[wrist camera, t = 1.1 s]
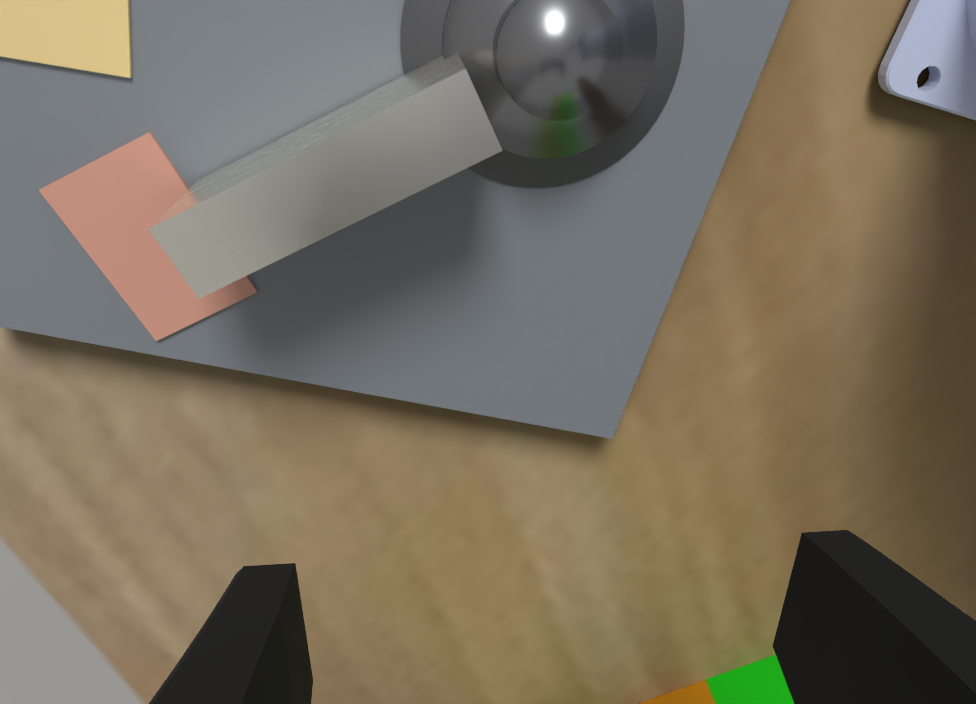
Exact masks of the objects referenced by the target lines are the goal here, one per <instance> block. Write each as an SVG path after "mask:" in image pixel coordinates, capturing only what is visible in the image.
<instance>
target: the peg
mask: <svg viewBox="0 0 976 704" xmlns="http://www.w3.org/2000/svg"><path fill="white" fill-rule="evenodd" d="M656 50H657V24H656V16H655V11H654V7H653V3H652V0H450V2H449V5H448V7H447V12H446V16H445V20H444V26H443V34H442V54H443V55H442V56H440V57H438V58H436V59H434V60H432V61H431V62H429V63H427V64H425V65H423V66H421V67H419V68H417V69H415V70H413V71H411V72H409V73H407V74H405V75H403V76H401V77H399V78H397V79H395V80H393V81H391V82H389V83H387V84H385V85H384V86H382V87H380V88H378V89H376V90H374V91H372V92H370V93H368V94H366V95H364V96H362V97H360V98H358V99H356V100H354V101H352V102H350V103H348V104H346V105H344V106H342V107H340V108H338V109H337V110H335V111H333V112H331V113H329V114H327V115H325V116H323V117H321V118H319V119H317V120H315V121H313V122H311V123H309V124H307V125H305V126H303V127H301V128H299V129H297V130H295V131H293V132H291V133H290V134H288V135H286V136H284V137H282V138H280V139H278V140H276V141H274V142H272V143H270V144H268V145H266V146H264V147H262V148H260V149H258V150H256V151H254V152H252V153H250V154H248V155H246V156H244V157H243V158H241V159H239V160H237V161H235V162H233V163H231V164H229V165H227V166H225V167H223V168H221V169H219V170H217V171H215V172H213V173H211V174H209V175H207V176H205V177H203V178H201V179H199V180H198V181H197V182H196V183H195V184H194V185H193V186H192V187H191V188H190V189H189V190H188V191H187V192H186V193H185V194H184V195H183V196H181V197H180V198H179V199H178V200H177V201H176V202H175V203H174V204H173V205H172V206H171V207H170V208H169V209H168V210H167V211H166V212H165V213H164V214H163V215H162V216H161V217H160V218H159V219H158V220H157V221H156V222H155V223H154V224H153V225H152V226H151V227H150V228H149V231H150V232H151V234H152V235H153V236H154V238H155V239H156V241H157V242H158V243H159V245H160V246H161V247H162V249H163V250H164V252H165V253H166V254H167V256H168V257H169V259H170V260H171V261H172V263H173V264H174V265H175V267H176V268H177V270H178V271H179V272H180V274H181V275H182V277H183V278H184V279H185V281H186V282H187V283H188V285H189V286H190V288H191V289H192V290H193V292H194V293H195V294H196V296H197V297H198V299H200V298H202V297H204V296H206V295H208V294H210V293H212V292H214V291H216V290H218V289H220V288H222V287H224V286H226V285H229V284H231V283H233V282H235V281H237V280H239V279H241V278H243V277H245V276H247V275H249V274H251V273H253V272H255V271H257V270H259V269H261V268H263V267H265V266H267V265H269V264H272V263H274V262H276V261H278V260H280V259H282V258H284V257H286V256H288V255H290V254H292V253H294V252H296V251H298V250H300V249H302V248H304V247H306V246H308V245H310V244H313V243H315V242H317V241H319V240H321V239H323V238H325V237H327V236H329V235H331V234H333V233H335V232H337V231H339V230H341V229H343V228H345V227H347V226H349V225H351V224H353V223H356V222H358V221H360V220H362V219H364V218H366V217H368V216H370V215H372V214H374V213H376V212H378V211H380V210H382V209H384V208H386V207H388V206H390V205H392V204H394V203H396V202H399V201H401V200H403V199H405V198H407V197H409V196H411V195H413V194H415V193H417V192H419V191H421V190H423V189H425V188H427V187H429V186H431V185H433V184H435V183H437V182H440V181H442V180H444V179H446V178H448V177H450V176H452V175H454V174H456V173H458V172H460V171H462V170H464V169H466V168H468V167H470V166H472V165H474V164H476V163H478V162H480V161H483V160H485V159H487V158H489V157H491V156H493V155H495V154H497V153H499V152H501V151H503V150H502V149H504V150H507V151H509V152H511V153H514V154H517V155H521V156H524V157H531V158H538V159H553V158H561V157H566V156H570V155H574V154H578V153H580V152H582V151H585V150H587V149H590V148H592V147H593V146H595V145H597V144H599V143H601V142H602V141H603V140H605V139H606V138H608V137H609V136H610V135H612V134H613V133H614V132H615V131H616V130H617V129H618V128H619V127H620V126H621V125H623V123H624V122H625V121H626V120H627V119H628V118H629V116H630V115H631V114H632V113H633V111H634V110H635V108H636V107H637V105H638V104H639V102H640V100H641V98H642V96H643V94H644V92H645V90H646V88H647V86H648V83H649V80H650V78H651V75H652V71H653V67H654V63H655V58H656Z"/></svg>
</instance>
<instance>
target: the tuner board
mask: <svg viewBox="0 0 976 704" xmlns="http://www.w3.org/2000/svg"><path fill="white" fill-rule="evenodd" d="M790 1H791V0H652V3H653V7H654V11H655V16H656V24H657V50H656V58H655V63H654V67H653V71H652V75H651V78H650V80H649V83H648V86H647V88H646V90H645V92H644V94H643V96H642V98H641V100H640V102H639V104H638V105H637V107H636V108H635V110H634V111H633V113H632V114H631V115H630V116H629V118H628V119H627V120H626V121H625V122H624V123H623V125H621V126H620V127H619V128H618V129H617V130H616V131H615V132H614V133H613V134H612V135H610V136H609V137H608V138H606V139H605V140H603V141H602V142H601V143H599V144H597V145H595V146H593V147H592V148H590V149H587V150H585V151H582V152H580V153H578V154H574V155H570V156H566V157H561V158H553V159H538V158H531V157H524V156H521V155H517V154H514V153H511V152H509V151H507V150H504V149H502V150H503V151H501V152H499V153H497V154H495V155H493V156H491V157H489V158H487V159H485V160H483V161H480V162H478V163H476V164H474V165H472V166H470V167H468V168H466V169H464V170H462V171H460V172H458V173H456V174H454V175H452V176H450V177H448V178H446V179H444V180H442V181H440V182H437V183H435V184H433V185H431V186H429V187H427V188H425V189H423V190H421V191H419V192H417V193H415V194H413V195H411V196H409V197H407V198H405V199H403V200H401V201H399V202H396V203H394V204H392V205H390V206H388V207H386V208H384V209H382V210H380V211H378V212H376V213H374V214H372V215H370V216H368V217H366V218H364V219H362V220H360V221H358V222H356V223H353V224H351V225H349V226H347V227H345V228H343V229H341V230H339V231H337V232H335V233H333V234H331V235H329V236H327V237H325V238H323V239H321V240H319V241H317V242H315V243H313V244H310V245H308V246H306V247H304V248H302V249H300V250H298V251H296V252H294V253H292V254H290V255H288V256H286V257H284V258H282V259H280V260H278V261H276V262H274V263H272V264H269V265H267V266H265V267H263V268H261V269H259V270H257V271H255V272H253V273H251V274H249V275H247V276H245V277H243V278H241V279H239V280H237V281H235V282H233V283H231V284H229V285H226V286H224V287H222V288H220V289H218V290H216V291H214V292H212V293H210V294H208V295H206V296H204V297H202V298H200V299H198V297H197V296H196V294H195V293H194V292H193V290H192V289H191V288H190V286H189V285H188V283H187V282H186V281H185V279H184V278H183V277H182V275H181V274H180V272H179V271H178V270H177V268H176V267H175V265H174V264H173V263H172V261H171V260H170V259H169V257H168V256H167V254H166V253H165V252H164V250H163V249H162V247H161V246H160V245H159V243H158V242H157V241H156V239H155V238H154V236H153V235H152V234H151V232H150V231H149V228H150V227H151V226H152V225H153V224H154V223H155V222H156V221H157V220H158V219H159V218H160V217H161V216H162V215H163V214H164V213H165V212H166V211H167V210H168V209H169V208H170V207H171V206H172V205H173V204H174V203H175V202H176V201H177V200H178V199H179V198H180V197H181V196H183V195H184V194H185V193H186V192H187V191H188V190H189V189H190V188H191V187H192V186H193V185H194V184H195V183H196V182H197V181H198V180H199V179H201V178H203V177H205V176H207V175H209V174H211V173H213V172H215V171H217V170H219V169H221V168H223V167H225V166H227V165H229V164H231V163H233V162H235V161H237V160H239V159H241V158H243V157H244V156H246V155H248V154H250V153H252V152H254V151H256V150H258V149H260V148H262V147H264V146H266V145H268V144H270V143H272V142H274V141H276V140H278V139H280V138H282V137H284V136H286V135H288V134H290V133H291V132H293V131H295V130H297V129H299V128H301V127H303V126H305V125H307V124H309V123H311V122H313V121H315V120H317V119H319V118H321V117H323V116H325V115H327V114H329V113H331V112H333V111H335V110H337V109H338V108H340V107H342V106H344V105H346V104H348V103H350V102H352V101H354V100H356V99H358V98H360V97H362V96H364V95H366V94H368V93H370V92H372V91H374V90H376V89H378V88H380V87H382V86H384V85H385V84H387V83H389V82H391V81H393V80H395V79H397V78H399V77H401V76H403V75H405V74H407V73H409V72H411V71H413V70H415V69H417V68H419V67H421V66H423V65H425V64H427V63H429V62H431V61H432V60H434V59H436V58H438V57H440V56H442V55H443V54H442V34H443V26H444V20H445V16H446V12H447V7H448V5H449V2H450V0H0V327H3V328H9V329H14V330H20V331H25V332H31V333H36V334H42V335H47V336H52V337H58V338H63V339H69V340H74V341H80V342H85V343H91V344H96V345H102V346H107V347H113V348H118V349H124V350H129V351H134V352H140V353H145V354H151V355H156V356H162V357H167V358H173V359H178V360H184V361H189V362H195V363H200V364H206V365H211V366H216V367H222V368H227V369H233V370H238V371H244V372H249V373H255V374H260V375H266V376H271V377H277V378H282V379H288V380H293V381H298V382H304V383H309V384H315V385H320V386H326V387H331V388H337V389H342V390H348V391H353V392H359V393H364V394H369V395H375V396H380V397H386V398H391V399H397V400H402V401H408V402H413V403H419V404H424V405H430V406H435V407H441V408H446V409H451V410H457V411H462V412H468V413H473V414H479V415H484V416H490V417H495V418H501V419H506V420H512V421H517V422H523V423H528V424H533V425H539V426H544V427H550V428H555V429H561V430H566V431H572V432H577V433H583V434H588V435H594V436H599V437H604V438H610V439H613V436H614V434H615V431H616V429H617V426H618V424H619V421H620V419H621V416H622V414H623V411H624V409H625V407H626V404H627V402H628V399H629V397H630V394H631V392H632V389H633V387H634V384H635V382H636V379H637V377H638V375H639V372H640V370H641V367H642V365H643V362H644V360H645V357H646V355H647V352H648V350H649V348H650V345H651V343H652V340H653V338H654V335H655V333H656V330H657V328H658V325H659V323H660V320H661V318H662V316H663V313H664V311H665V308H666V306H667V303H668V301H669V298H670V296H671V293H672V291H673V288H674V286H675V284H676V281H677V279H678V276H679V274H680V271H681V269H682V266H683V264H684V261H685V259H686V256H687V254H688V252H689V249H690V247H691V244H692V242H693V239H694V237H695V234H696V232H697V229H698V227H699V224H700V222H701V220H702V217H703V215H704V212H705V210H706V207H707V205H708V202H709V200H710V197H711V195H712V192H713V190H714V188H715V185H716V183H717V180H718V178H719V175H720V173H721V170H722V168H723V165H724V163H725V160H726V158H727V156H728V153H729V151H730V148H731V146H732V143H733V141H734V138H735V136H736V133H737V131H738V129H739V126H740V124H741V121H742V119H743V116H744V114H745V111H746V109H747V106H748V104H749V101H750V99H751V97H752V94H753V92H754V89H755V87H756V84H757V82H758V79H759V77H760V74H761V72H762V69H763V67H764V65H765V62H766V60H767V57H768V55H769V52H770V50H771V47H772V45H773V42H774V40H775V37H776V35H777V33H778V30H779V28H780V25H781V23H782V20H783V18H784V15H785V13H786V10H787V8H788V5H789V3H790Z"/></svg>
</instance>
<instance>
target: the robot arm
mask: <svg viewBox="0 0 976 704" xmlns="http://www.w3.org/2000/svg"><path fill="white" fill-rule="evenodd" d="M927 67H928V69H929V73H930V74H929V77H928V80H927V82H926V83H925V84H924V85H923V86H922V87H920V88H918V86H917V79H918V75H919V74H920V73H921V71H922V70H923V69H925V68H927ZM878 83H879V85H880V87H881V88H882V90H883V91H885V92H887V93H888V94H891V95H894V96H898V97H901V98H904V99H907V100H911V101H914V102H917V103H920V104H924V105H927V106H930V107H933V108H937V109H940V110H943V111H946V112H950V113H953V114H956V115H959V116H963V117H966V118H969V119H972V120H976V0H911V1H910V3H909V5H908V7H907V9H906V12H905V14H904V16H903V18H902V20H901V22H900V24H899V26H898V29H897V31H896V33H895V35H894V37H893V39H892V41H891V43H890V46H889V48H888V50H887V52H886V54H885V56H884V58H883V60H882V63H881V65H880V68H879V71H878ZM773 648H774V651H775V653H776V656H777V659H778V662H779V664H780V667H781V670H782V672H783V675H784V678H785V681H786V683H787V686H788V689H789V691H790V694H791V696H792V699H793V701H794V704H976V621H975V620H973V619H972V618H971V617H969V616H968V615H966V614H965V613H964V612H962V611H961V610H959V609H958V608H957V607H955V606H954V605H952V604H951V603H950V602H948V601H947V600H946V599H944V598H943V597H941V596H940V595H939V594H937V593H936V592H935V591H933V590H932V589H930V588H929V587H928V586H926V585H925V584H924V583H922V582H921V581H919V580H918V579H917V578H915V577H914V576H913V575H911V574H910V573H908V572H907V571H906V570H904V569H903V568H901V567H900V566H899V565H897V564H896V563H895V562H893V561H892V560H890V559H889V558H888V557H886V556H885V555H883V554H882V553H881V552H879V551H878V550H876V549H875V548H873V547H872V546H871V545H869V544H868V543H866V542H865V541H863V540H862V539H860V538H859V537H857V536H856V535H854V534H853V533H851V532H850V531H848V530H840V531H823V532H807V533H802V534H801V538H800V542H799V546H798V550H797V554H796V558H795V562H794V566H793V569H792V573H791V577H790V581H789V585H788V589H787V593H786V597H785V601H784V604H783V608H782V612H781V616H780V620H779V624H778V628H777V632H776V635H775V639H774V643H773ZM312 685H313V677H312V670H311V664H310V657H309V651H308V644H307V637H306V631H305V624H304V618H303V611H302V605H301V598H300V591H299V585H298V578H297V572H296V565H295V563H291V564H275V565H258V566H244V567H243V568H242V569H241V570H240V571H239V572H238V573H236V575H235V576H234V578H233V579H232V581H231V583H230V584H229V586H228V588H227V589H226V591H225V592H224V594H223V596H222V597H221V599H220V600H219V602H218V603H217V605H216V607H215V608H214V610H213V611H212V613H211V614H210V616H209V617H208V619H207V620H206V622H205V624H204V625H203V627H202V628H201V630H200V631H199V633H198V634H197V636H196V637H195V639H194V640H193V642H192V643H191V644H190V646H189V647H188V649H187V650H186V652H185V653H184V655H183V656H182V658H181V659H180V661H179V662H178V664H177V665H176V666H175V668H174V669H173V671H172V672H171V674H170V675H169V676H168V678H167V679H166V680H165V682H164V683H163V685H162V686H161V687H160V689H159V690H158V692H157V693H156V694H155V696H154V697H153V699H152V700H151V701H150V703H149V704H311V697H312Z"/></svg>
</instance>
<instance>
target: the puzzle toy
mask: <svg viewBox="0 0 976 704" xmlns="http://www.w3.org/2000/svg"><path fill="white" fill-rule="evenodd" d="M639 704H794V701H793V699H792V696H791V694H790V691H789V689H788V686H787V683H786V681H785V678H784V675H783V672H782V670H781V667H780V664H779V662H778V659H777V656H776V655H774V656H771V657H768V658H765V659H763V660H760V661H757V662H754V663H751V664H748V665H746V666H743V667H740V668H737V669H734V670H732V671H729V672H726V673H723V674H720V675H718V676H715V677H712V678H709V679H706V680H704V681H701V682H698V683H695V684H692V685H690V686H687V687H684V688H681V689H678V690H676V691H673V692H670V693H667V694H664V695H662V696H659V697H656V698H653V699H650V700H647V701H645V702H642V703H639Z"/></svg>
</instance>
